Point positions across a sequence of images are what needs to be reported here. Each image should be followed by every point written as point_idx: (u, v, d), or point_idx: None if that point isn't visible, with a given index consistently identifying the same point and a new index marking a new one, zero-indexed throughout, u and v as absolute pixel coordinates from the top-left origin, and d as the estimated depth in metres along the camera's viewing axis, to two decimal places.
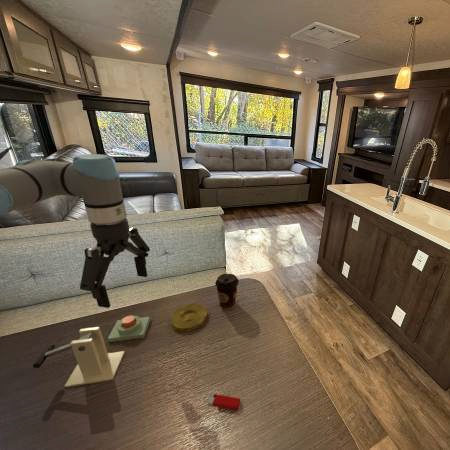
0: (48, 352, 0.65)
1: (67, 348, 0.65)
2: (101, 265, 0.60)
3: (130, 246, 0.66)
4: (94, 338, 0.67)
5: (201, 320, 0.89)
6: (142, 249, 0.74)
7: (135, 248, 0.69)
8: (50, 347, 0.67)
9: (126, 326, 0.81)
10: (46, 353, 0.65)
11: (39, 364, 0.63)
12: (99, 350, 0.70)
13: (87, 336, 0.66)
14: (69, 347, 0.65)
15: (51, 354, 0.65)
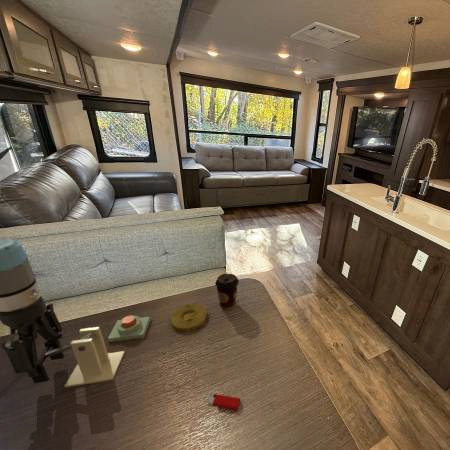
0: (48, 352, 0.65)
1: (67, 348, 0.65)
2: (27, 348, 0.60)
3: (46, 324, 0.64)
4: (94, 338, 0.67)
5: (201, 320, 0.89)
6: None
7: (49, 328, 0.66)
8: (50, 347, 0.67)
9: (126, 326, 0.81)
10: (46, 353, 0.65)
11: None
12: (99, 350, 0.70)
13: (87, 336, 0.66)
14: (69, 347, 0.65)
15: (51, 354, 0.65)
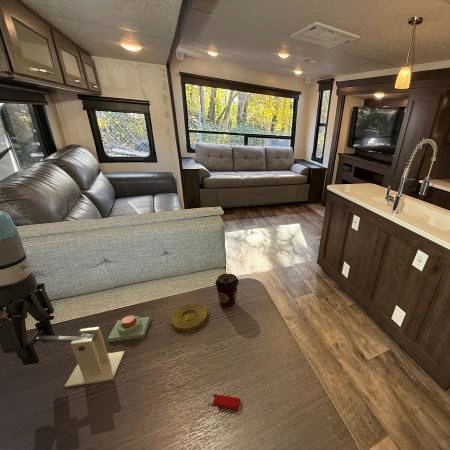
0: (41, 337, 0.63)
1: (63, 340, 0.64)
2: (16, 327, 0.57)
3: (37, 303, 0.61)
4: (93, 340, 0.67)
5: (201, 320, 0.89)
6: None
7: (40, 308, 0.63)
8: (43, 331, 0.64)
9: (126, 326, 0.81)
10: (39, 337, 0.63)
11: None
12: (99, 350, 0.70)
13: (91, 337, 0.66)
14: (66, 340, 0.64)
15: (43, 340, 0.63)
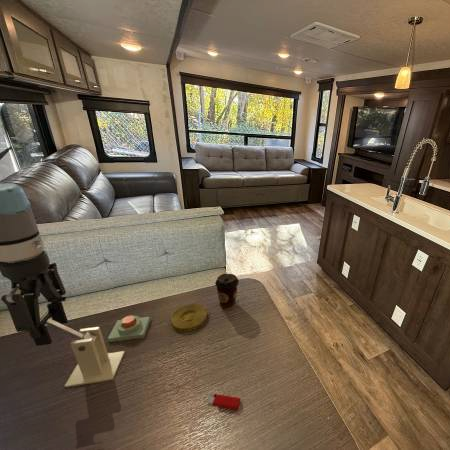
0: (51, 321, 0.62)
1: (67, 333, 0.64)
2: (29, 305, 0.56)
3: (49, 283, 0.60)
4: None
5: (201, 320, 0.89)
6: None
7: (53, 288, 0.62)
8: None
9: (126, 326, 0.81)
10: (49, 321, 0.62)
11: None
12: (99, 350, 0.70)
13: (93, 339, 0.66)
14: (70, 333, 0.64)
15: (51, 325, 0.62)
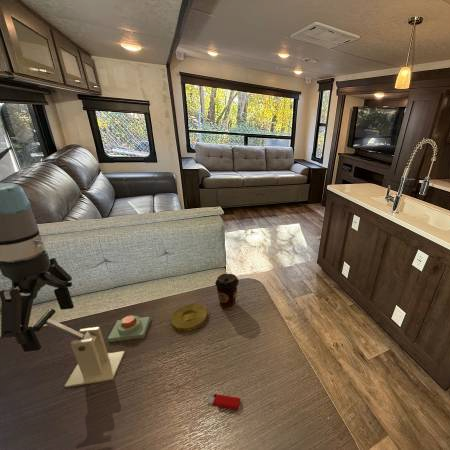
0: (51, 321, 0.62)
1: (67, 333, 0.64)
2: (22, 306, 0.54)
3: (52, 278, 0.60)
4: None
5: (201, 320, 0.89)
6: (62, 279, 0.67)
7: (56, 280, 0.63)
8: None
9: (126, 326, 0.81)
10: (49, 321, 0.62)
11: (39, 329, 0.59)
12: (99, 350, 0.70)
13: (93, 339, 0.66)
14: (70, 333, 0.64)
15: (51, 325, 0.62)
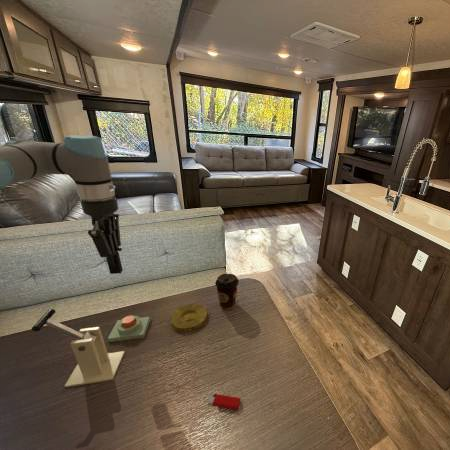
0: (51, 321, 0.62)
1: (67, 333, 0.64)
2: (106, 240, 0.68)
3: (114, 227, 0.70)
4: None
5: (201, 320, 0.89)
6: None
7: (115, 235, 0.71)
8: None
9: (126, 326, 0.81)
10: (49, 321, 0.62)
11: (39, 329, 0.59)
12: (99, 350, 0.70)
13: (93, 339, 0.66)
14: (70, 333, 0.64)
15: (51, 325, 0.62)
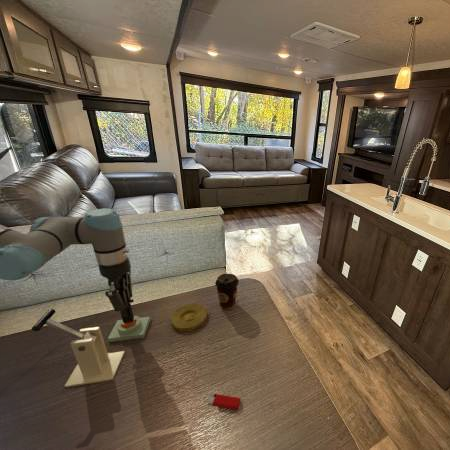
0: (51, 321, 0.62)
1: (67, 333, 0.64)
2: (120, 295, 0.76)
3: (127, 283, 0.78)
4: None
5: (201, 320, 0.89)
6: None
7: (127, 289, 0.79)
8: None
9: None
10: (49, 321, 0.62)
11: (39, 329, 0.59)
12: (99, 350, 0.70)
13: (93, 339, 0.66)
14: (70, 333, 0.64)
15: (51, 325, 0.62)
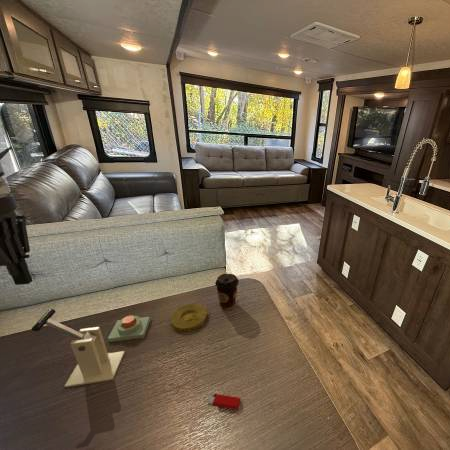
0: (51, 321, 0.62)
1: (67, 333, 0.64)
2: (2, 245, 0.58)
3: (15, 230, 0.60)
4: None
5: (201, 320, 0.89)
6: None
7: (17, 239, 0.61)
8: None
9: (126, 326, 0.81)
10: (49, 321, 0.62)
11: (39, 329, 0.59)
12: (99, 350, 0.70)
13: (93, 339, 0.66)
14: (70, 333, 0.64)
15: (51, 325, 0.62)
